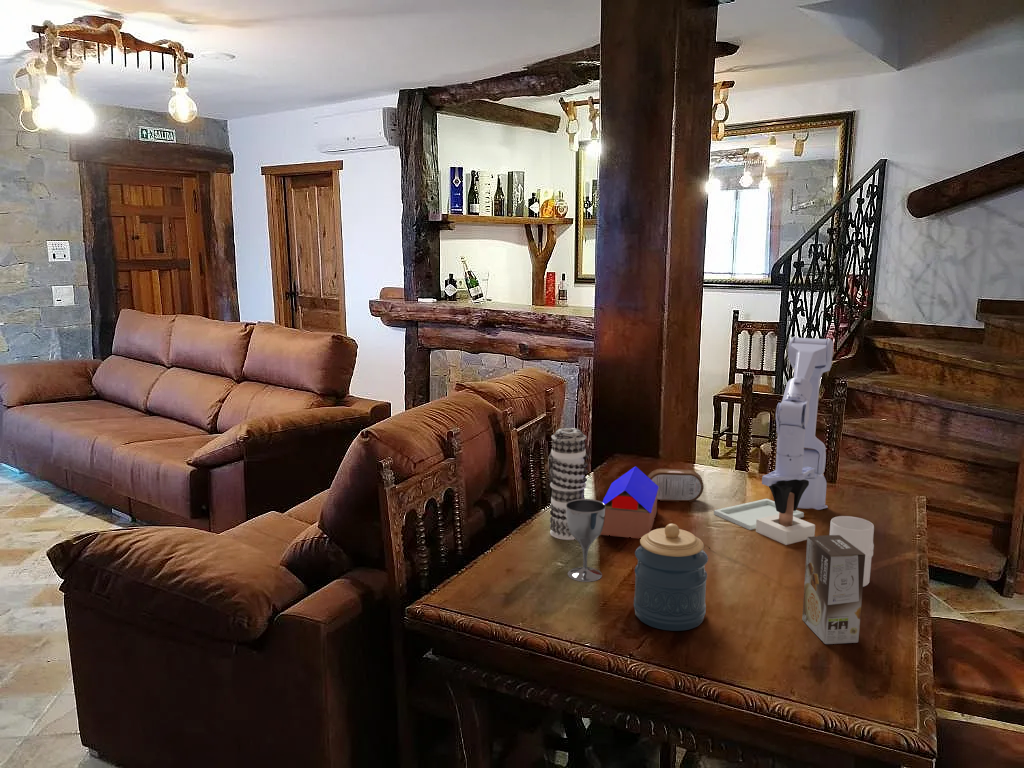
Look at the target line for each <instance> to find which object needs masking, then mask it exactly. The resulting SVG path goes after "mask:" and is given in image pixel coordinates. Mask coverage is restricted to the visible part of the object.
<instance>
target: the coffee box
mask: <svg viewBox="0 0 1024 768" xmlns="http://www.w3.org/2000/svg"><path fill="white" fill-rule="evenodd" d="M805 555H806V557H805V569H804V572H805V573H804V586H803V587H804V588H803V599H802V600H803V603H802V622H804V624H805V625H806V626H807V627H808V628H809V629H810V630H811V631H812V632H813V633H814V634H815V635H816V636H817V637H818V639H820V641H822V643H823V644H825V645H833V644H834V645H837V644H838V645H839V644H852V643H853V644H856V643H859V636H860V626H861V614H862V613H861V612H862V604H863V603H862V600H863V591H864V589H863V588H864V587H863V577H864V565H865V554H864V553H863V552H861V551H860V550H859V549H857V548H856V547H855V546H853V545H852V544H851V543H849V542H848V541H847V540H845V539H844V538H843V537H841V536H840V535H830V534H828V535H824V534H823V535H817V536H814V537H807V540H806V554H805Z"/></svg>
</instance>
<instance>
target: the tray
mask: <svg viewBox="0 0 1024 768" xmlns="http://www.w3.org/2000/svg"><path fill="white" fill-rule="evenodd" d="M777 514H779V512H778V511H776V506H775V501H774V500H772V499H769V498H763V499H759V500H754V501H750V502H746V503H741V504H736V505H731V506H727V507H726V506H725V507H723V508H718V509H714V510H713V515H715V516H717V517H719V518H721V519H724V520H726V521H728V522H730V523H732V524H734V525H737V526H740V527H741V528H744V529H746V530H749V531H751V530H756V520H757V519H760V518H764V517H768V516H773V515H777ZM804 514H805V513H804V512H803V511H800V510H796V511H793V516H794V517H796V518H799V519H801V518H804V517H805V515H804Z"/></svg>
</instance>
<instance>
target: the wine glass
mask: <svg viewBox="0 0 1024 768" xmlns="http://www.w3.org/2000/svg"><path fill="white" fill-rule="evenodd" d="M566 518H567V524H568V528H569V531H570V533H571V534H572V536H573V537H574V538H575V540H576V541H577V542H578V544H579V546H580V548H581V550H582V561H583V562H582V566H578V567H574V568H573V567H572V568H571V569H569V570H568V572H567V576H568V578H570V579H571V580H574V581H577V582H583V583H590V582H596V581H598V580H599V581H600V579H602V578H603V573H602V571H600V570H599V569H596V568H594V567H590V566H588V555H589V549H590V547H591V545H592V544H593V543H594V542H595V541H596V539H597V538H598V537H599V536H601V535H600V534H601V532H602V529H603V526H604V521H605V504H604V503H603V502H602V501H601V500H597V499H592V498H585V499H576V500H572V501H569V502H568V503H567V504H566Z"/></svg>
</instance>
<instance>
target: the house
mask: <svg viewBox="0 0 1024 768" xmlns="http://www.w3.org/2000/svg"><path fill="white" fill-rule="evenodd" d="M647 476H648V475H646V474H645V473H644V472H643V471H642V470H641V469H640V468H639V467H637V466H634V467H632V468H631V469H629V470H628V471H627V472H625V473H624V474H622V475H621V476H619V477H618V478H617V479H615V480H613V482H611V484H610V486H609V488H608V490H607V491H606V494H605V496H604V497H603V500H602V501H601V502H603V503H604V504H605V521H604V526H603V529H602V532H601V534H600V535H599V536H609V535H610V536H611V537H621V538H629V537H631V539H639V538H641V537H642V536H644V535H645V534H647V533H649V532H651V531H652V530H651V529H653V526H654V522H655V519H654V518H656V515H657V511H658V500H657V492H658V489H659V487H658V486H657V485H656V484H655V483H654V482H653V481H652V480H651V479H650V478H648V477H647Z"/></svg>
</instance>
